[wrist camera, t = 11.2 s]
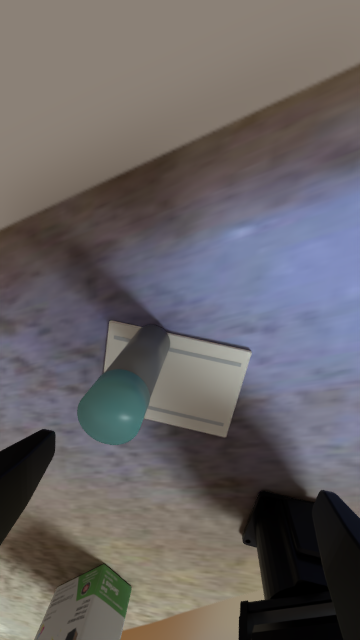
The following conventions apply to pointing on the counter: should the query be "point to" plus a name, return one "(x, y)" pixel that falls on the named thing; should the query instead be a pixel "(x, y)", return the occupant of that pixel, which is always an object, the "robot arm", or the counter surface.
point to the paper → (190, 380)
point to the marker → (125, 388)
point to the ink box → (87, 608)
